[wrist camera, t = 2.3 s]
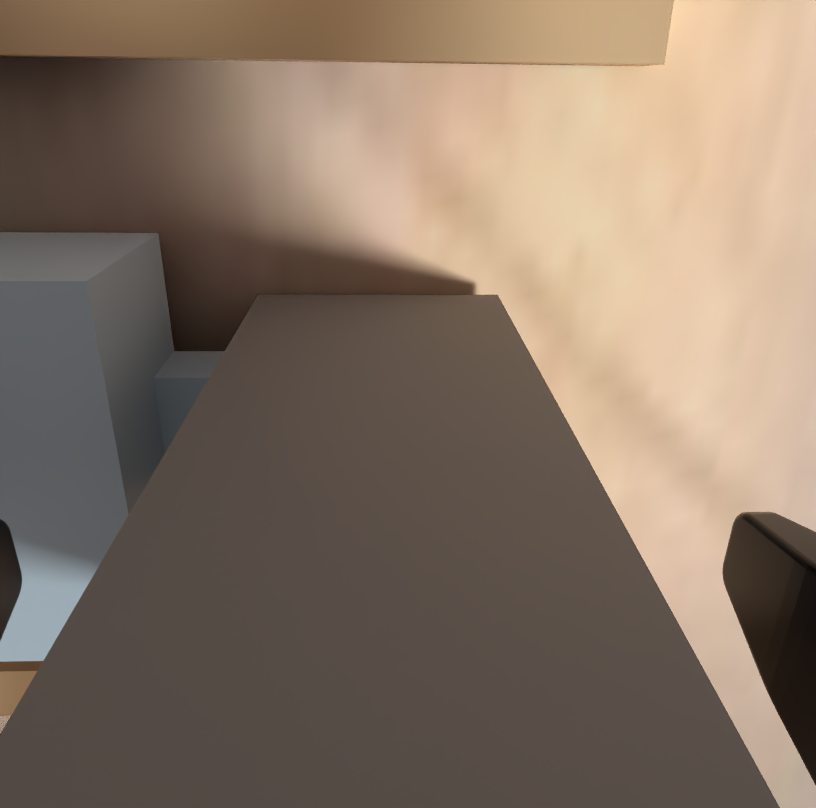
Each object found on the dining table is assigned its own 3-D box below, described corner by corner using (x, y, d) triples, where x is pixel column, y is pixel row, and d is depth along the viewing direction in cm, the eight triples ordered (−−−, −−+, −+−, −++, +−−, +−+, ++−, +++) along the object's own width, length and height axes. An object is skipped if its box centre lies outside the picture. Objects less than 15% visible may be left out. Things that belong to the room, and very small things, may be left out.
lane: (652, -26, 10) (678, -37, 9) (558, 668, 16) (569, 704, 15) (-851, -55, 9) (-983, -70, 9) (-392, 685, 15) (-441, 723, 14)
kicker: (501, 234, 11) (849, 672, 3) (480, 541, 14) (637, 1256, 5) (-35, 231, 11) (-1379, 712, 3) (43, 545, 14) (-518, 1311, 5)
